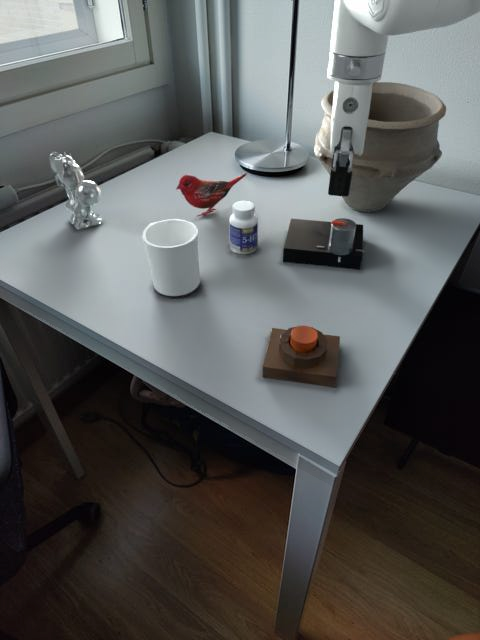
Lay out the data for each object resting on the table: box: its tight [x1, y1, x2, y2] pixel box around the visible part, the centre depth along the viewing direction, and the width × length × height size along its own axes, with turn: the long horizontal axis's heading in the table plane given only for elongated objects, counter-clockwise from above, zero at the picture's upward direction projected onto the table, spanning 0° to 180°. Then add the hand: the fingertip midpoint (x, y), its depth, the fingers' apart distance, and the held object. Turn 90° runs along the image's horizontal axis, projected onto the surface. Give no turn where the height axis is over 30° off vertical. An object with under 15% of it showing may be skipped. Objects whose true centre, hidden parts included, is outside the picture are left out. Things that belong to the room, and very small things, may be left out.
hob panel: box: [282, 218, 365, 271], centre depth 86 cm, size 14×14×3 cm
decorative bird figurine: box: [175, 173, 248, 217], centre depth 97 cm, size 3×18×10 cm, turn 127°
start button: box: [290, 325, 318, 353], centre depth 63 cm, size 4×4×2 cm
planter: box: [313, 81, 447, 213], centre depth 94 cm, size 25×24×22 cm
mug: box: [141, 218, 201, 299], centre depth 78 cm, size 11×9×10 cm
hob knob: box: [328, 217, 357, 255], centre depth 81 cm, size 4×4×5 cm
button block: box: [262, 325, 341, 388], centre depth 65 cm, size 10×8×4 cm
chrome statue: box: [48, 151, 103, 230], centre depth 92 cm, size 15×6×15 cm, turn 39°
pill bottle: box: [229, 200, 259, 255], centre depth 86 cm, size 5×5×9 cm
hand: (339, 181), depth 76 cm, fingers open, 9 cm apart
